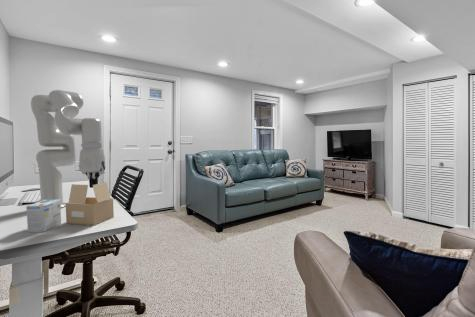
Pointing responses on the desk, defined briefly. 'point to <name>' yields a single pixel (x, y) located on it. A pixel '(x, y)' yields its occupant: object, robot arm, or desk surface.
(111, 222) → the desk surface
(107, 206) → the carton
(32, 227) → the light bulb box
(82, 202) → the flap
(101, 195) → the flap
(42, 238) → the desk surface
